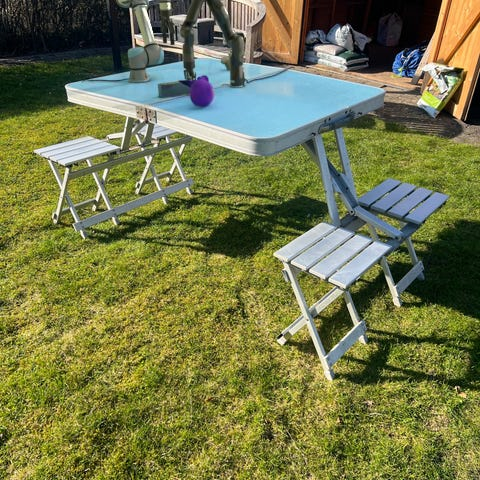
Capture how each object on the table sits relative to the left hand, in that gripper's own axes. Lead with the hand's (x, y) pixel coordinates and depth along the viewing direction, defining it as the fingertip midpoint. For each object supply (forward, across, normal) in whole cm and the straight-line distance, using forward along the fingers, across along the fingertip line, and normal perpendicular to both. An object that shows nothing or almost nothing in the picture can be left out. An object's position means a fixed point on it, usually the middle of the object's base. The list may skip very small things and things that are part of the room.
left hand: (168, 44), depth 311 cm
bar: (+28, -30, +8) cm, 42 cm away
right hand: (+24, -30, -1) cm, 38 cm away
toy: (+28, -64, +9) cm, 70 cm away
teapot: (+27, +29, -66) cm, 77 cm away
